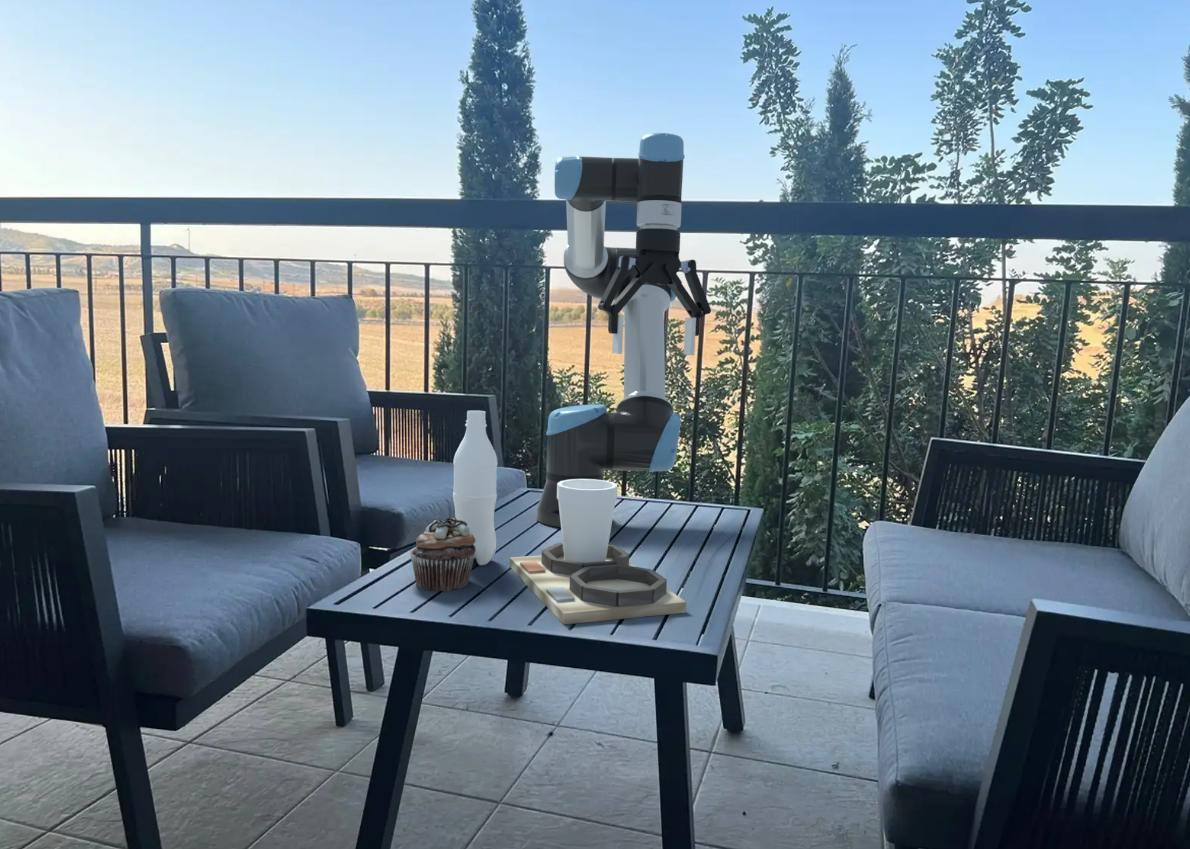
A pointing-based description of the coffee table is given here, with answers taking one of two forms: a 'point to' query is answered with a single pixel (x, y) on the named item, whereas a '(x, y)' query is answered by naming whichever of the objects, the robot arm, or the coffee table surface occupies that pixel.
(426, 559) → the cupcake
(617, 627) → the coffee table surface
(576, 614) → the socket board
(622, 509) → the coffee table surface
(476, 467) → the water bottle
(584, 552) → the foam cup
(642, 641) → the coffee table surface
